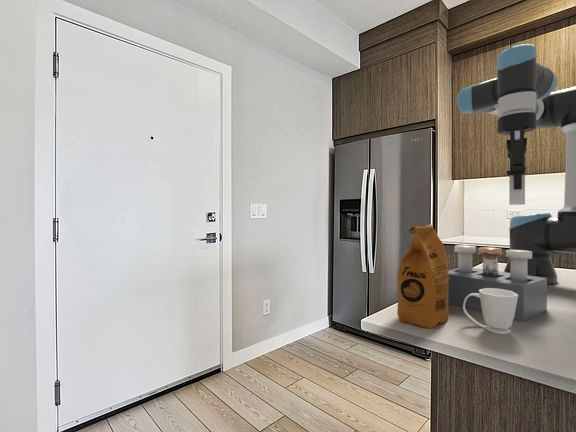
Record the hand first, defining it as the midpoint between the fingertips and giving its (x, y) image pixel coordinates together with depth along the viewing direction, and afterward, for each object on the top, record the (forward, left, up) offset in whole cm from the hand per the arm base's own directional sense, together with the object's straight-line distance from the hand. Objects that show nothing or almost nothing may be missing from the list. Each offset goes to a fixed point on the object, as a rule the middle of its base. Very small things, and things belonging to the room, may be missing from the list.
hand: (516, 204), depth 77 cm
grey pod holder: (-2, -7, -27) cm, 27 cm away
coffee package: (+21, -11, -27) cm, 36 cm away
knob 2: (-2, 0, -20) cm, 20 cm away
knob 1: (-2, -13, -20) cm, 24 cm away
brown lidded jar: (-2, -7, -20) cm, 21 cm away
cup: (+15, +1, -27) cm, 31 cm away
